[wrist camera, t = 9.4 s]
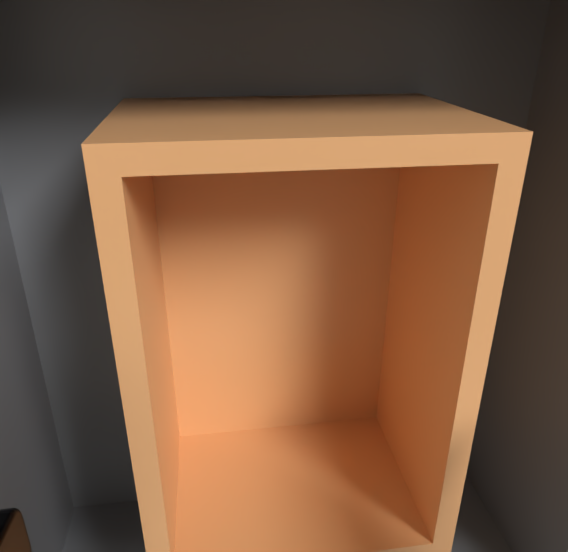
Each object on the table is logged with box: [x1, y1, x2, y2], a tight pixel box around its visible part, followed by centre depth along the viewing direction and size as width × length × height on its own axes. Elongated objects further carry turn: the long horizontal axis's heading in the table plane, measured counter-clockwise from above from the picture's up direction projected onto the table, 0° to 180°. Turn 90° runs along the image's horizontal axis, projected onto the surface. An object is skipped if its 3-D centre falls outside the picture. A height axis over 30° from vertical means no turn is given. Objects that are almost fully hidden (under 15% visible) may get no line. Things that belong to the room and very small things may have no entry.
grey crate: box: [0, 0, 568, 552], centre depth 13 cm, size 14×16×6 cm
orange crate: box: [81, 93, 533, 552], centre depth 13 cm, size 7×10×5 cm
